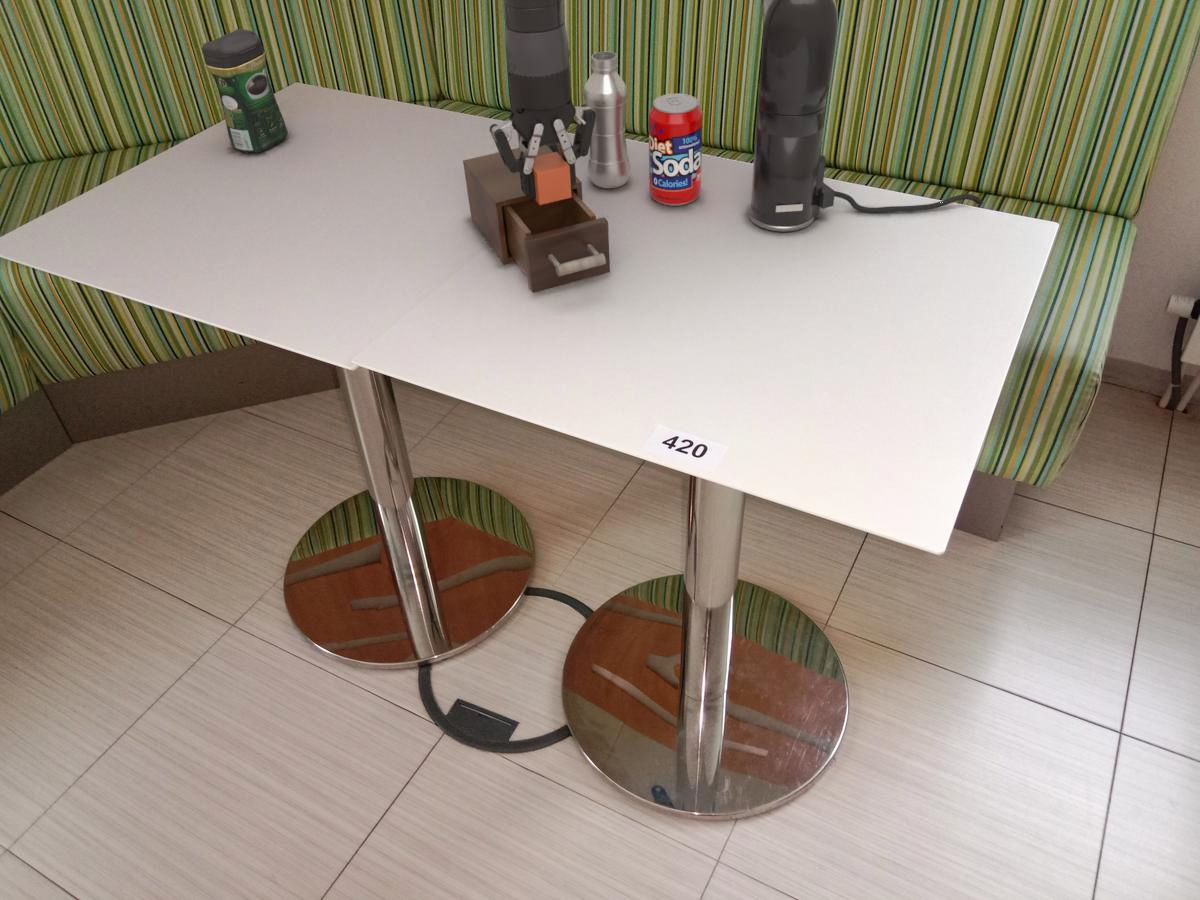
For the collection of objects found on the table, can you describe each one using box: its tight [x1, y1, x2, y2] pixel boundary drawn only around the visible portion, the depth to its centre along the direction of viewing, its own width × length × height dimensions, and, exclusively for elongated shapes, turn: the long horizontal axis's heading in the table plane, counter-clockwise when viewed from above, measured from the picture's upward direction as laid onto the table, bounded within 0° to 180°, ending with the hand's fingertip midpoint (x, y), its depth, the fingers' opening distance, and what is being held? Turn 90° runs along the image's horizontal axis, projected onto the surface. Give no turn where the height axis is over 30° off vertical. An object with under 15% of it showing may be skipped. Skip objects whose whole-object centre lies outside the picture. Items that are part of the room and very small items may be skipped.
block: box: [532, 152, 571, 205], centre depth 126 cm, size 4×4×4 cm
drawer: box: [502, 190, 611, 294], centre depth 131 cm, size 18×11×8 cm, turn 24°
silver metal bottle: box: [582, 50, 632, 189], centre depth 147 cm, size 6×7×20 cm
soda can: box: [648, 93, 704, 207], centre depth 144 cm, size 8×8×15 cm
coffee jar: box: [201, 28, 288, 154], centre depth 165 cm, size 10×8×19 cm
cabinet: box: [462, 145, 584, 265], centre depth 140 cm, size 15×13×10 cm
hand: (549, 191), depth 128 cm, fingers closed on block, 4 cm apart
